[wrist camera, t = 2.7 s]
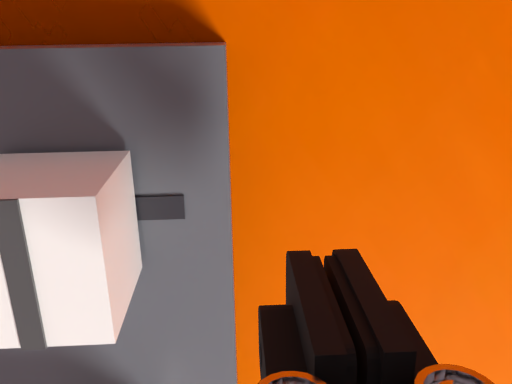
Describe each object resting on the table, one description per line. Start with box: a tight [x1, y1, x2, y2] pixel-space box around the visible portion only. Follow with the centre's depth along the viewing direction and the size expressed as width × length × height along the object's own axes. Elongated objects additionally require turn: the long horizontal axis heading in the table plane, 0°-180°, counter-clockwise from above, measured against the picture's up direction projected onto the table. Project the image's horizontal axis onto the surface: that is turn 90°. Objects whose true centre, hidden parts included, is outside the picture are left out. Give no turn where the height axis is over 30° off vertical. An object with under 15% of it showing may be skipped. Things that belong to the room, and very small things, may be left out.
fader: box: [0, 151, 142, 350], centre depth 13 cm, size 4×4×4 cm
